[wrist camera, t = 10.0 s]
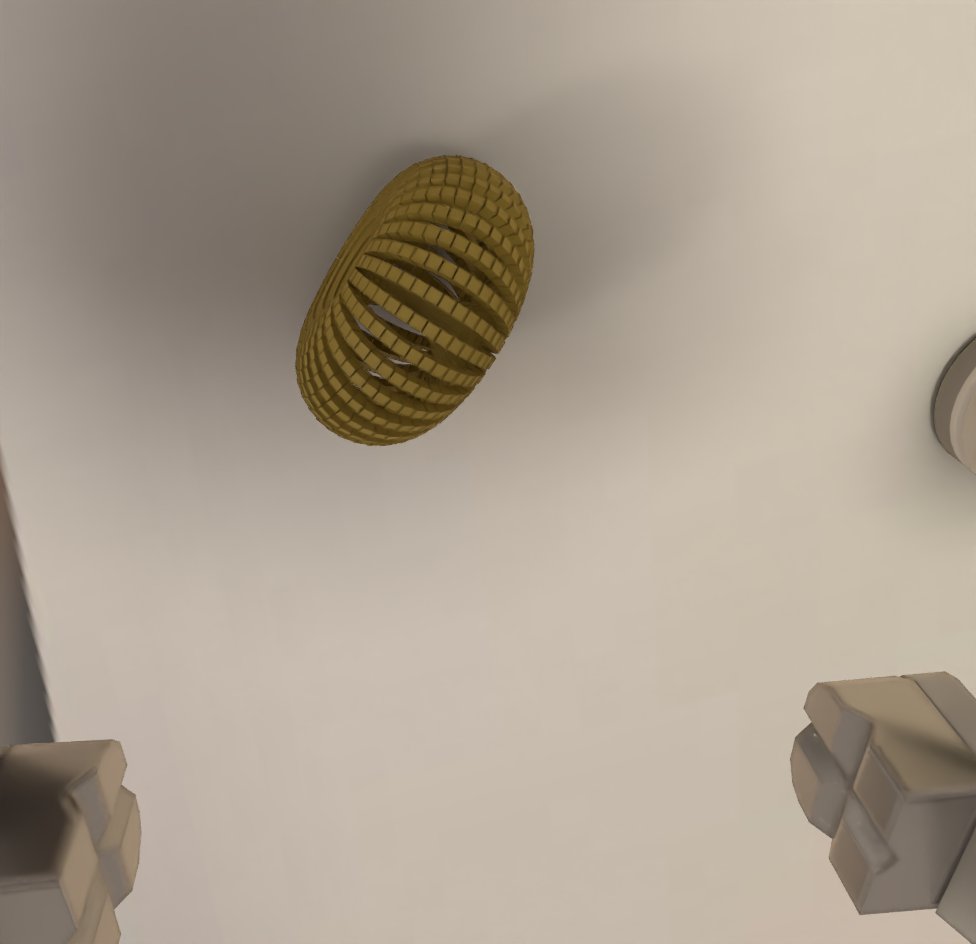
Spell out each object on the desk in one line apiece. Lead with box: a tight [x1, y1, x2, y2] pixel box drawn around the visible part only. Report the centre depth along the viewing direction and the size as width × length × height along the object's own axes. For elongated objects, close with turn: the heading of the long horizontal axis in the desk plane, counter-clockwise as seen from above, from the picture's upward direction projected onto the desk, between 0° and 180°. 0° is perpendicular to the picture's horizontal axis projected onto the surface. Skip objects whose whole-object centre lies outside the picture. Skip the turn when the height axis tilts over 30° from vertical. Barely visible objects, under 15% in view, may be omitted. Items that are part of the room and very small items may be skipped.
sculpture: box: [295, 156, 534, 446], centre depth 22 cm, size 8×4×8 cm, turn 144°
